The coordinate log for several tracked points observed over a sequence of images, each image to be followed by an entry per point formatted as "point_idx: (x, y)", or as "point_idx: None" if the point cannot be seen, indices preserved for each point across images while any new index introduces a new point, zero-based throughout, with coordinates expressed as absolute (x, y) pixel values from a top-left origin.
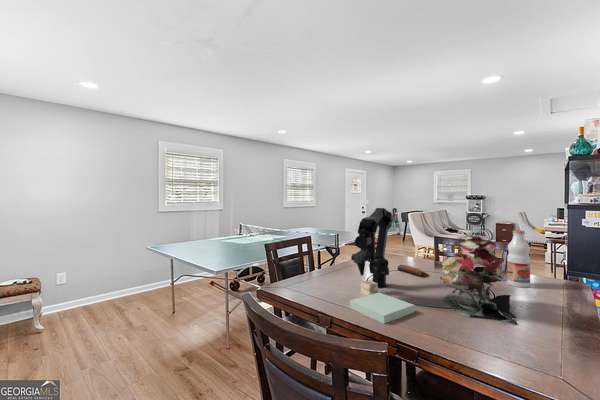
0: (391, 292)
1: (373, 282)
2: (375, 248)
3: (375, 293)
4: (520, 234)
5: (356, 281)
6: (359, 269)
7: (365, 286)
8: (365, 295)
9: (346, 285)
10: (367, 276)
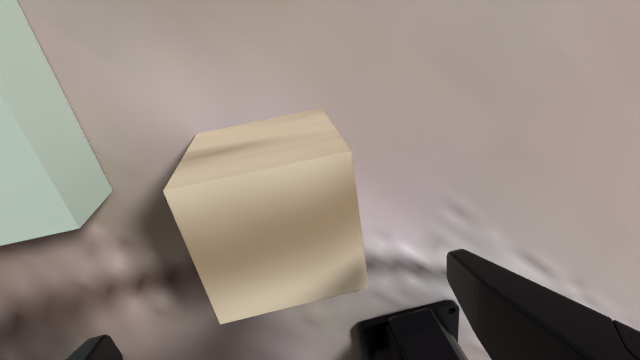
0: (240, 347)
1: (270, 298)
2: None
3: (39, 166)
4: None
5: (583, 246)
6: (573, 315)
7: (250, 158)
8: (254, 122)
9: (581, 113)
10: None
